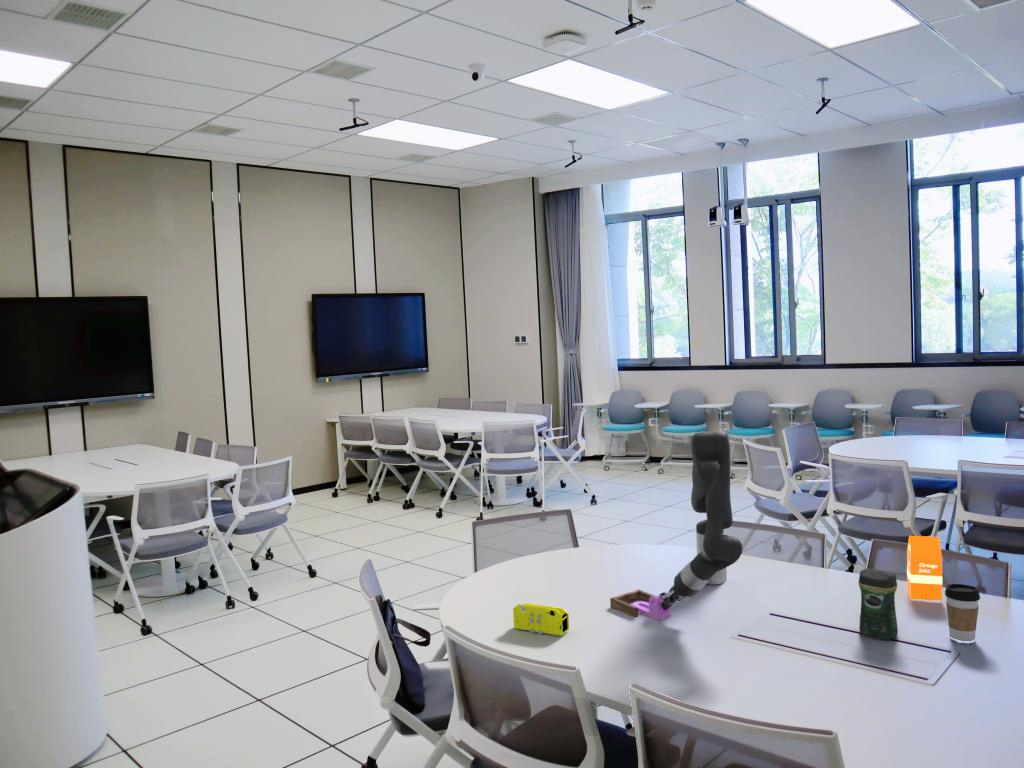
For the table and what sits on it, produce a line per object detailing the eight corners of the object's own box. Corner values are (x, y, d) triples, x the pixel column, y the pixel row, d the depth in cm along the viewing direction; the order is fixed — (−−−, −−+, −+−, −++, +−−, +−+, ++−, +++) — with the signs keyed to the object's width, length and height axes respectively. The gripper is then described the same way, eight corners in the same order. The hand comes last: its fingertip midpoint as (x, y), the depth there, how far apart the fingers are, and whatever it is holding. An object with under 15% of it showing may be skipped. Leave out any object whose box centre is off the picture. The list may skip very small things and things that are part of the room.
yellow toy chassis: (513, 631, 232) (512, 604, 232) (521, 624, 237) (520, 597, 237) (561, 639, 225) (560, 611, 224) (569, 631, 230) (568, 604, 229)
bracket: (670, 615, 238) (670, 594, 238) (657, 620, 235) (657, 598, 235) (641, 604, 249) (641, 583, 249) (628, 608, 246) (628, 587, 246)
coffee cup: (967, 648, 207) (968, 594, 206) (938, 637, 215) (937, 585, 213) (986, 641, 211) (987, 588, 210) (956, 631, 218) (956, 579, 217)
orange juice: (942, 603, 239) (942, 540, 238) (910, 601, 242) (910, 538, 241) (937, 594, 247) (937, 533, 245) (906, 592, 250) (906, 532, 248)
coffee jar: (901, 634, 218) (901, 570, 216) (891, 643, 212) (891, 577, 211) (865, 626, 225) (865, 563, 223) (855, 634, 219) (854, 570, 218)
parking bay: (639, 598, 254) (638, 589, 254) (664, 608, 245) (664, 599, 245) (610, 607, 248) (610, 598, 247) (635, 617, 238) (634, 608, 238)
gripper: (701, 562, 231) (672, 591, 242) (669, 571, 223) (641, 601, 234) (715, 584, 227) (685, 612, 238) (683, 594, 219) (654, 623, 230)
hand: (663, 607), depth 236 cm, fingers closed
